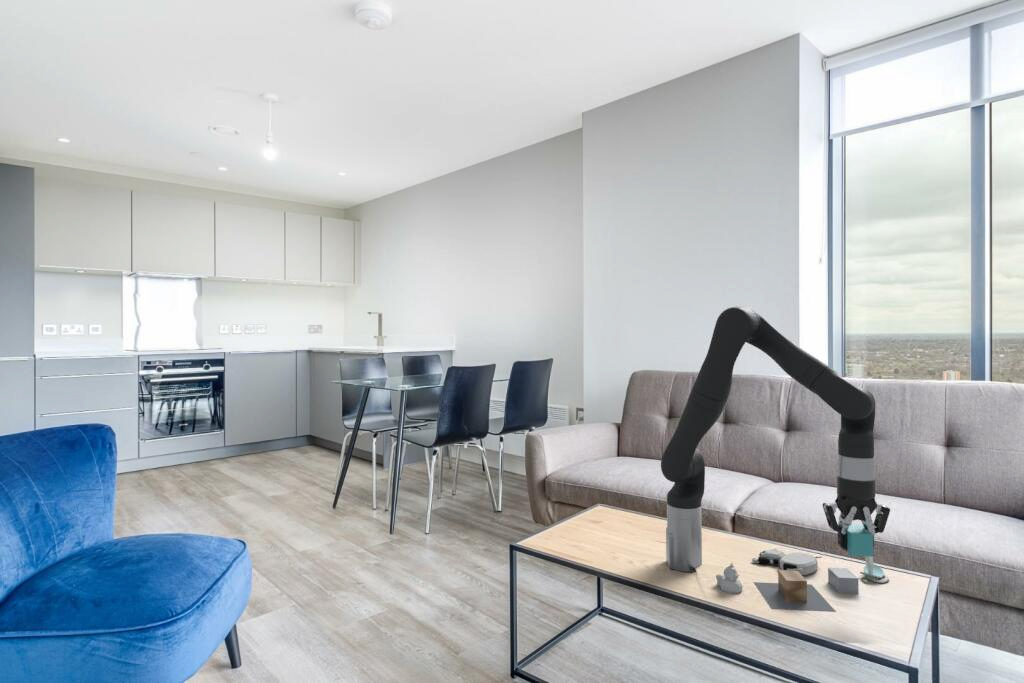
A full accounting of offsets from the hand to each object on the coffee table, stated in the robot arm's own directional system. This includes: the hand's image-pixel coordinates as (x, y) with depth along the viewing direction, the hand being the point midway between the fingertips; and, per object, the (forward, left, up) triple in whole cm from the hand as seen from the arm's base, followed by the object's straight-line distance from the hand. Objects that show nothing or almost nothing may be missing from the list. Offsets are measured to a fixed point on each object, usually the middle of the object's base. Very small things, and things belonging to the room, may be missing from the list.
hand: (855, 549), depth 129 cm
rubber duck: (-26, +8, -15) cm, 31 cm away
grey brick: (+2, +11, -15) cm, 19 cm away
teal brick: (0, 0, 0) cm, 0 cm away
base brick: (-12, +5, -14) cm, 19 cm away
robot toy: (-7, +24, -16) cm, 30 cm away
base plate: (-12, +5, -15) cm, 20 cm away
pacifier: (+14, +21, -15) cm, 29 cm away
